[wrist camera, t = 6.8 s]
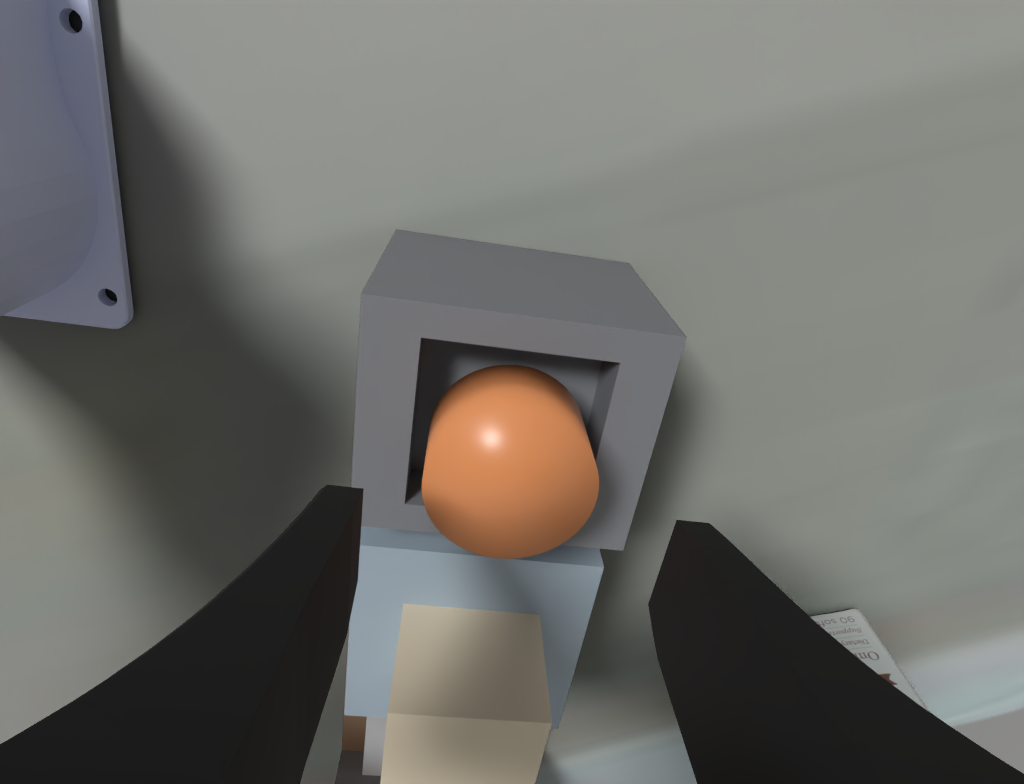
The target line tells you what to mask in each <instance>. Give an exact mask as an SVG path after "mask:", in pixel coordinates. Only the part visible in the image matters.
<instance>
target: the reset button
mask: <svg viewBox="0 0 1024 784" xmlns="http://www.w3.org/2000/svg"><path fill="white" fill-rule="evenodd" d="M598 492H599V475H598V469H597V466H596V462H595V459H594V456H593V452H592V449H591V445H590V442H589V439H588V435H587V432H586V428H585V425H584V422H583V418H582V415H581V412H580V408H579V406H578V404H577V402H576V400H575V399H574V397H573V396H572V394H571V393H570V392H569V391H568V390H567V388H566V387H565V386H564V385H563V384H561V383H560V382H559V381H558V380H556V379H555V378H553V377H552V376H550V375H549V374H546V373H544V372H542V371H540V370H537V369H534V368H531V367H526V366H521V365H496V366H490V367H486V368H483V369H479V370H476V371H474V372H472V373H470V374H468V375H466V376H464V377H463V378H461V379H459V380H458V381H457V382H455V383H454V384H453V385H452V386H451V387H450V388H449V389H448V390H447V391H446V392H445V393H444V394H443V396H442V397H441V398H440V400H439V401H438V403H437V405H436V407H435V409H434V412H433V415H432V418H431V423H430V429H429V436H428V443H427V450H426V457H425V464H424V470H423V477H422V497H423V502H424V505H425V509H426V511H427V513H428V515H429V518H430V519H431V521H432V522H433V524H434V525H435V527H436V528H437V529H438V530H439V531H440V532H441V533H442V534H443V535H444V536H445V537H446V538H447V539H449V540H450V541H451V542H453V543H454V544H456V545H457V546H459V547H461V548H463V549H465V550H467V551H470V552H473V553H475V554H478V555H482V556H486V557H492V558H502V559H513V558H523V557H530V556H534V555H537V554H541V553H544V552H546V551H549V550H551V549H553V548H555V547H557V546H559V545H561V544H562V543H564V542H565V541H567V540H568V539H570V538H571V537H572V536H573V535H574V534H576V533H577V532H578V531H579V530H580V528H581V527H582V526H583V525H584V524H585V522H586V521H587V520H588V518H589V517H590V515H591V513H592V511H593V509H594V507H595V504H596V501H597V497H598Z"/></svg>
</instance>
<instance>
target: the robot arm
mask: <svg viewBox="0 0 1024 784" xmlns="http://www.w3.org/2000/svg"><path fill="white" fill-rule="evenodd" d="M73 10H75V11H76V12H77V13H78V14H79V15H80V17H81V20H82V22H83V25H82V29H81V31H80V32H79V33H77V32H75V30H74V29H73V28H72V27H71V25H70V23H69V14H70V13H71V12H72V11H73ZM105 289H109V290H112V291H113V292H114V293H115V294H116V296H117V302H115V301H112V300H110V299H109V298H108V297H107V295H106V293H105ZM133 312H134V311H133V303H132V294H131V285H130V277H129V268H128V259H127V251H126V242H125V233H124V225H123V216H122V207H121V199H120V190H119V181H118V173H117V164H116V155H115V146H114V138H113V129H112V120H111V112H110V103H109V94H108V86H107V77H106V68H105V60H104V51H103V42H102V34H101V25H100V16H99V8H98V0H0V316H2V315H3V316H11V317H19V318H27V319H35V320H43V321H52V322H60V323H68V324H76V325H84V326H93V327H101V328H109V329H120V328H122V327H124V326H125V325H127V324H128V323H130V321H131V320H132V318H133ZM363 490H364V489H363V488H353V487H344V486H334V485H327V486H325V487H324V488H322V489H321V490H320V491H319V492H318V493H317V495H316V496H315V497H314V498H313V499H312V501H311V502H310V503H309V504H308V505H307V506H306V508H305V509H304V510H303V511H302V512H301V513H300V514H299V516H298V517H297V518H296V519H295V520H294V521H293V522H292V523H291V524H290V525H289V526H288V528H287V529H286V530H285V531H284V532H283V533H282V534H281V535H280V536H279V537H278V538H277V539H276V540H275V541H274V542H273V543H272V544H271V545H270V546H269V547H268V548H267V549H266V550H265V551H264V552H263V553H262V554H261V555H260V556H259V557H258V558H257V559H256V560H255V561H254V562H253V563H252V564H251V565H250V566H249V567H248V568H247V569H246V570H245V571H244V572H242V573H241V574H240V575H239V576H238V577H237V578H236V579H235V580H234V581H232V582H231V583H230V584H229V585H228V586H227V587H226V588H225V589H224V590H222V591H221V592H220V593H219V594H218V595H217V596H216V597H215V598H214V599H212V600H211V601H210V602H209V603H208V604H207V605H205V606H204V607H203V608H202V609H201V610H199V611H198V612H197V613H196V614H195V615H193V616H192V617H191V618H190V619H188V620H187V621H186V622H185V623H183V624H182V625H181V626H180V627H178V628H177V629H176V630H174V631H173V632H172V633H170V634H169V635H168V636H166V637H165V638H164V639H163V640H161V641H160V642H159V643H157V644H156V645H155V646H153V647H152V648H151V649H149V650H148V651H146V652H145V653H144V654H142V655H141V656H139V657H138V658H136V659H135V660H134V661H132V662H131V663H129V664H128V665H126V666H125V667H124V668H122V669H121V670H119V671H118V672H116V673H115V674H113V675H112V676H111V677H109V678H108V679H106V680H105V681H103V682H102V683H100V684H99V685H97V686H96V687H94V688H93V689H91V690H90V691H88V692H87V693H85V694H83V695H82V696H80V697H79V698H77V699H76V700H74V701H73V702H71V703H69V704H68V705H66V706H64V707H63V708H61V709H59V710H57V711H56V712H54V713H52V714H51V715H49V716H47V717H46V718H44V719H42V720H41V721H39V722H37V723H36V724H34V725H32V726H31V727H29V728H27V729H26V730H24V731H22V732H21V733H19V734H17V735H16V736H14V737H12V738H11V739H9V740H7V741H5V742H4V743H2V744H0V784H300V781H301V778H302V774H303V771H304V767H305V764H306V761H307V757H308V754H309V751H310V748H311V745H312V742H313V739H314V736H315V733H316V729H317V726H318V723H319V720H320V717H321V714H322V711H323V708H324V705H325V701H326V698H327V695H328V692H329V689H330V686H331V683H332V680H333V677H334V673H335V670H336V667H337V664H338V661H339V658H340V655H341V651H342V648H343V645H344V642H345V639H346V636H347V631H348V626H349V621H350V617H351V612H352V607H353V602H354V597H355V592H356V587H357V582H358V570H359V554H360V538H361V522H362V506H363ZM648 605H649V612H650V618H651V624H652V630H653V636H654V641H655V646H656V651H657V656H658V660H659V664H660V667H661V670H662V674H663V677H664V680H665V683H666V687H667V690H668V693H669V696H670V699H671V703H672V706H673V709H674V712H675V715H676V718H677V721H678V725H679V728H680V731H681V734H682V737H683V740H684V743H685V746H686V750H687V753H688V756H689V759H690V762H691V765H692V768H693V771H694V775H695V778H696V781H697V784H1024V774H1023V773H1021V772H1020V771H1018V770H1016V769H1015V768H1013V767H1011V766H1010V765H1008V764H1007V763H1005V762H1004V761H1002V760H1000V759H999V758H997V757H996V756H994V755H992V754H991V753H990V752H988V751H987V750H985V749H984V748H982V747H980V746H979V745H977V744H976V743H974V742H973V741H971V740H970V739H968V738H967V737H965V736H964V735H962V734H961V733H959V732H958V731H956V730H955V729H953V728H952V727H950V726H949V725H947V724H946V723H944V722H943V721H942V720H940V719H939V718H937V717H936V716H934V715H933V714H932V713H930V712H929V711H927V710H926V709H924V708H923V707H922V706H920V705H919V704H917V703H916V702H915V701H913V700H912V699H911V698H909V697H908V696H907V695H905V694H904V693H903V692H901V691H900V690H899V689H897V688H896V687H895V686H893V685H892V684H891V683H889V682H888V681H887V680H885V679H884V678H883V677H881V676H880V675H879V674H877V673H876V672H875V671H874V670H872V669H871V668H870V667H869V666H867V665H866V664H865V663H864V662H862V661H861V660H860V659H859V658H857V657H856V656H855V655H854V654H853V653H851V652H850V651H849V650H848V649H847V648H846V647H844V646H843V645H842V644H841V643H840V642H838V641H837V640H836V639H835V638H834V637H833V636H831V635H830V634H829V633H828V632H827V631H825V630H824V629H823V628H822V627H821V626H820V625H819V624H817V623H816V622H815V621H814V620H813V619H812V618H811V617H810V616H808V615H807V614H806V613H805V612H804V611H803V610H802V609H801V608H800V607H799V606H797V605H796V604H795V603H794V602H793V601H792V600H791V599H790V598H789V597H788V596H787V595H786V594H784V593H783V592H782V591H781V590H780V589H779V588H778V587H777V586H776V585H775V584H774V583H773V582H772V581H771V580H770V579H769V578H768V577H766V576H765V575H764V574H763V573H762V572H761V571H760V570H759V569H758V568H757V567H756V566H755V565H754V564H753V563H752V562H751V561H750V560H749V559H748V558H747V557H746V556H745V555H743V554H742V553H741V552H740V551H739V550H738V549H737V548H736V547H735V546H734V545H733V544H732V543H731V542H730V541H729V540H728V539H727V538H725V537H724V536H723V535H722V534H721V533H720V532H719V531H718V530H717V529H715V528H714V527H713V526H712V525H711V524H709V523H702V522H692V521H682V520H677V521H676V524H675V527H674V530H673V533H672V536H671V538H670V541H669V544H668V547H667V550H666V553H665V556H664V559H663V562H662V565H661V568H660V571H659V574H658V577H657V580H656V583H655V586H654V589H653V592H652V595H651V598H650V601H649V604H648Z"/></svg>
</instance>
